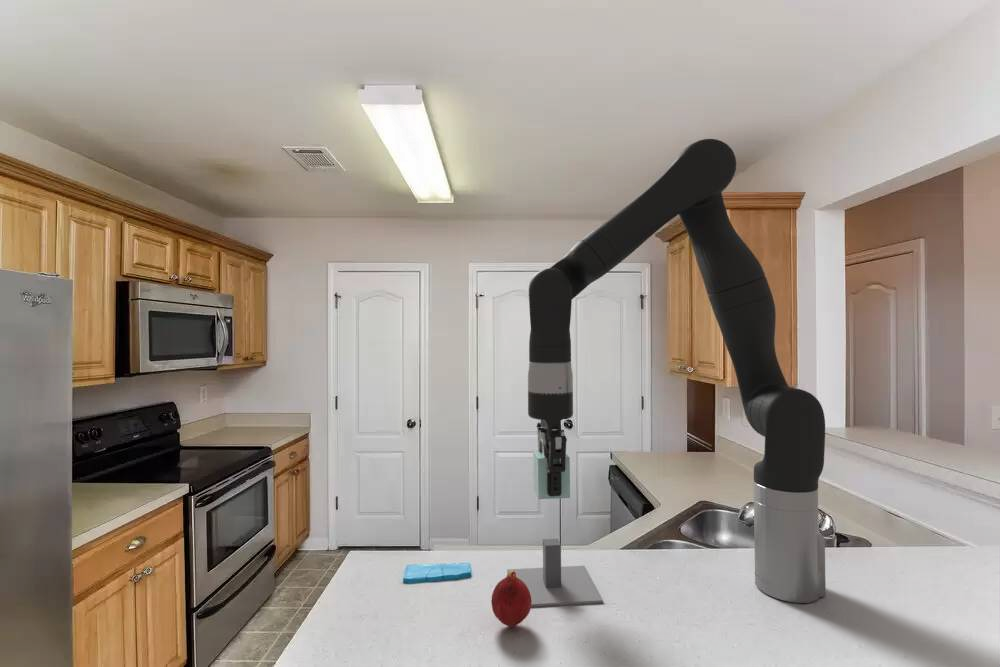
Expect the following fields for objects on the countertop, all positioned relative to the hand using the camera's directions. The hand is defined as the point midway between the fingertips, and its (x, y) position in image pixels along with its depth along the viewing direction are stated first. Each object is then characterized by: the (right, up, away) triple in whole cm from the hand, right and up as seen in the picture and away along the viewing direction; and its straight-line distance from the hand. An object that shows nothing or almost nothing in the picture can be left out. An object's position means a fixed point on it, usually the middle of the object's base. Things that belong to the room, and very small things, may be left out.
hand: (551, 489), depth 85 cm
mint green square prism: (0, -1, 0) cm, 1 cm away
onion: (-7, -17, -12) cm, 21 cm away
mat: (0, -16, 0) cm, 16 cm away
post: (0, -16, 0) cm, 16 cm away
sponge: (-20, -17, +5) cm, 26 cm away
